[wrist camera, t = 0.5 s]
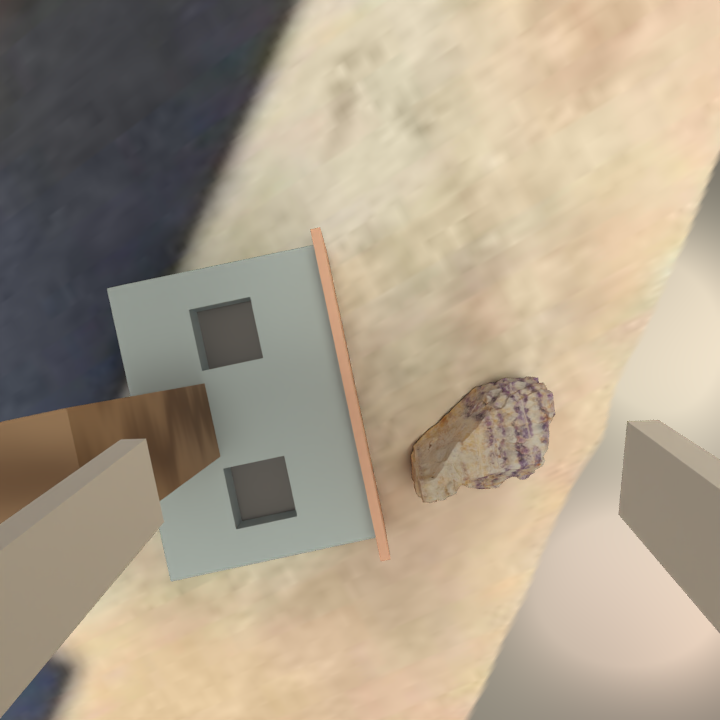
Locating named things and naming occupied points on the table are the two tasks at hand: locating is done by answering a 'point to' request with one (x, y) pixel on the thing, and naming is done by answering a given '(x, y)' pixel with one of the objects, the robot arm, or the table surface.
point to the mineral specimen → (485, 439)
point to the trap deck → (256, 408)
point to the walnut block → (106, 442)
